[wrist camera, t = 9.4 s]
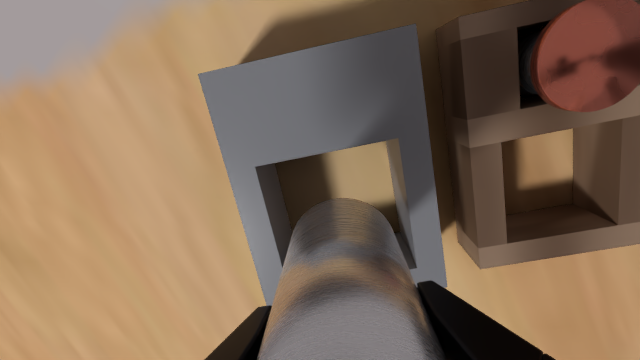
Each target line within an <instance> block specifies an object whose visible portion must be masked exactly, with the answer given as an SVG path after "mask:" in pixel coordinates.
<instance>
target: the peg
mask: <svg viewBox="0 0 640 360" xmlns="http://www.w3.org/2000/svg"><path fill="white" fill-rule="evenodd" d="M257 360H447V358H446V356H445V354H444V351H443V349H442V346H441V344H440V342H439V339H438V337H437V334H436V332H435V330H434V327H433V325H432V323H431V320H430V318H429V315H428V313H427V311H426V308H425V306H424V303H423V301H422V299H421V296H420V294H419V292H418V289H417V287H416V284H415V282H414V280H413V277H412V275H411V272H410V270H409V268H408V265H407V263H406V261H405V258H404V256H403V253H402V251H401V249H400V246H399V244H398V241H397V239H396V237H395V234H394V232H393V230H392V227H391V225H390V224H389V222H388V220H387V219H386V218H385V216H384V215H383V214H382V213H381V212H380V211H378V210H377V209H376V208H374V207H373V206H371V205H369V204H367V203H365V202H362V201H359V200H355V199H349V198H337V199H331V200H327V201H324V202H321V203H319V204H317V205H315V206H313V207H312V208H310V209H309V210H308V211H307V212H306V213H304V214H303V215H302V217H301V218H300V219H299V220H298V222H297V224H296V226H295V228H294V230H293V233H292V237H291V240H290V244H289V247H288V251H287V254H286V258H285V261H284V265H283V268H282V272H281V276H280V279H279V283H278V286H277V290H276V293H275V297H274V300H273V304H272V308H271V311H270V315H269V318H268V322H267V325H266V329H265V332H264V336H263V339H262V343H261V347H260V350H259V354H258V357H257Z"/></svg>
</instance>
